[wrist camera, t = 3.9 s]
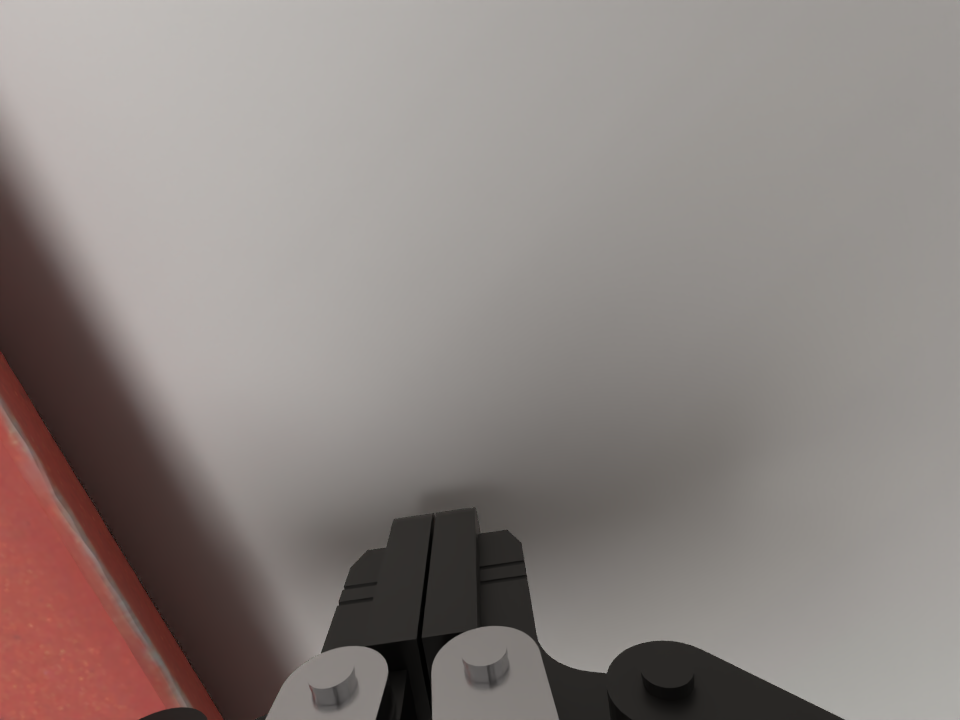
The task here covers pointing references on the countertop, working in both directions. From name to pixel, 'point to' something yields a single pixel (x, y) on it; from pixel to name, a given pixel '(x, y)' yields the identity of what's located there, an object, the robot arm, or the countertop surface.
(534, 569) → the countertop surface
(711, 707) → the robot arm
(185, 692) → the plant saucer
